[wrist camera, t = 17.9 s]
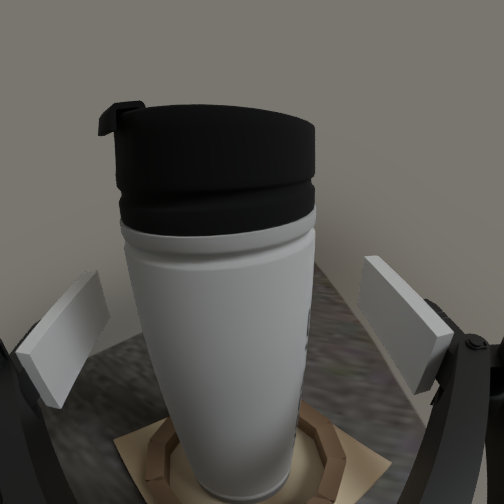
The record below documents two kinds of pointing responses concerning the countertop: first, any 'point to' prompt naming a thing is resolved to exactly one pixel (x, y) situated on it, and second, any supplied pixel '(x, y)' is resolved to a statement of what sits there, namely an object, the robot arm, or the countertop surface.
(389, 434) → the countertop surface
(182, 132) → the travel mug
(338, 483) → the mug stand
